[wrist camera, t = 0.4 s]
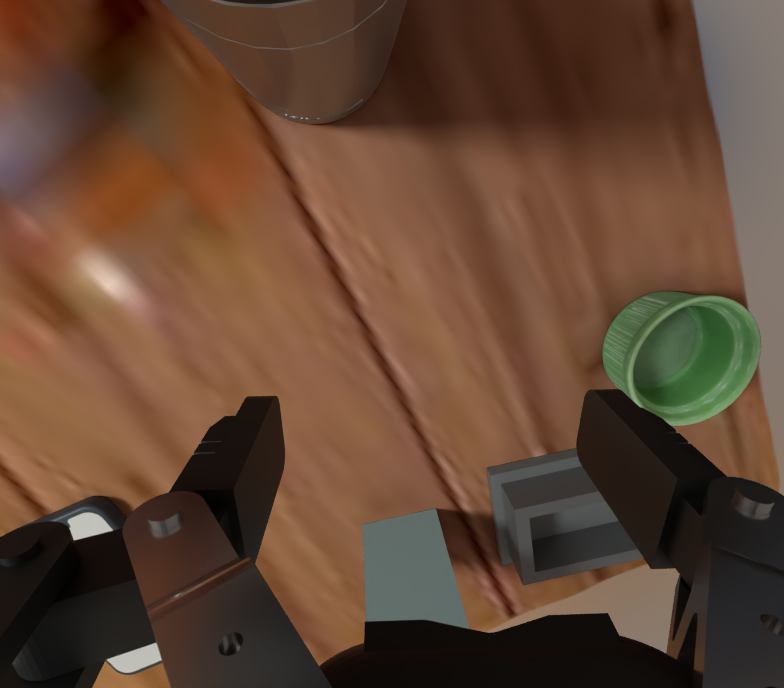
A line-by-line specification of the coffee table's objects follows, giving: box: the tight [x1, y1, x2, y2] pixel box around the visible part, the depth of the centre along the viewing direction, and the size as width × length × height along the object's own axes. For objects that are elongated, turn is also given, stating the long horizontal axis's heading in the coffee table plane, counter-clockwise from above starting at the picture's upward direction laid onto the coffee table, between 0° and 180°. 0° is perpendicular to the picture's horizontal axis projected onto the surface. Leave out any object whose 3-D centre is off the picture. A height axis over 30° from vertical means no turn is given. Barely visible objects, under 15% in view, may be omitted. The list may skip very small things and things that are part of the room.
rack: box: [487, 448, 643, 585], centre depth 35 cm, size 9×13×4 cm
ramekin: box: [602, 291, 761, 426], centre depth 31 cm, size 9×9×4 cm
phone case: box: [13, 496, 163, 675], centre depth 35 cm, size 9×2×16 cm
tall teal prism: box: [362, 509, 469, 629], centre depth 30 cm, size 4×6×13 cm, turn 101°
